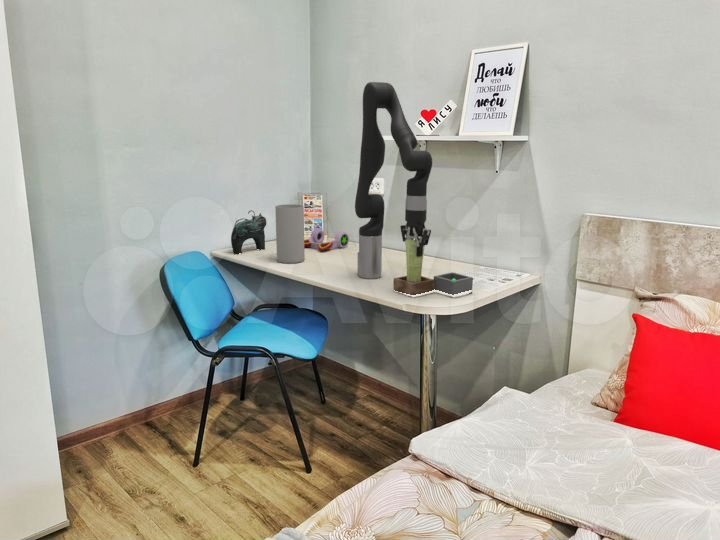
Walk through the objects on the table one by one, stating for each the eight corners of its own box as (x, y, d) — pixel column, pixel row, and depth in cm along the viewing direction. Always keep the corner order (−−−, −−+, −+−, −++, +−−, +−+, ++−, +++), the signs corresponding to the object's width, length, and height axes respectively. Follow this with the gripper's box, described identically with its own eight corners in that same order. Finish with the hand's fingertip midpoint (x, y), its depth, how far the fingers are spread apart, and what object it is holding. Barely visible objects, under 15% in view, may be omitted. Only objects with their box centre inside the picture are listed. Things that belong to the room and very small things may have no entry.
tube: (412, 288, 210) (414, 237, 206) (423, 291, 207) (425, 239, 202) (403, 291, 206) (405, 239, 201) (414, 294, 203) (416, 241, 198)
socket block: (432, 292, 207) (433, 273, 205) (451, 287, 213) (452, 269, 211) (453, 298, 199) (454, 279, 197) (472, 293, 205) (473, 274, 203)
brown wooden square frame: (393, 291, 207) (393, 278, 206) (414, 286, 214) (414, 274, 212) (413, 297, 199) (413, 284, 198) (434, 292, 206) (434, 279, 204)
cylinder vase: (274, 258, 260) (273, 204, 254) (301, 257, 264) (300, 204, 258) (279, 264, 249) (278, 208, 243) (307, 262, 252) (306, 207, 246)
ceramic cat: (262, 247, 286) (260, 208, 281) (270, 249, 281) (268, 209, 277) (229, 253, 271) (227, 212, 266) (238, 255, 267) (236, 213, 262)
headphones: (350, 231, 287) (324, 232, 271) (348, 251, 288) (323, 252, 273) (321, 228, 299) (295, 228, 283) (320, 246, 300) (293, 247, 284)
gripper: (394, 206, 202) (393, 253, 206) (422, 211, 191) (420, 260, 196) (410, 205, 207) (408, 250, 211) (438, 209, 196) (436, 257, 200)
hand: (414, 255), depth 203 cm, fingers closed on tube, 4 cm apart
